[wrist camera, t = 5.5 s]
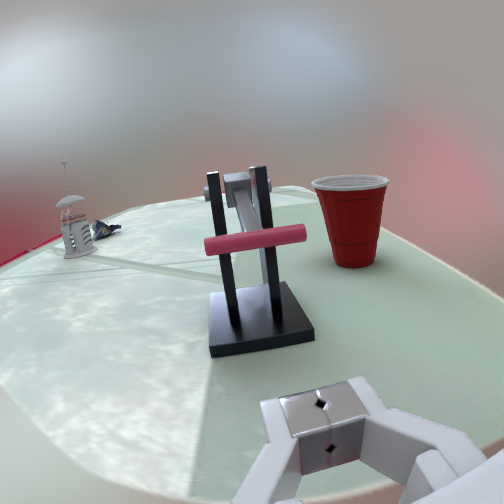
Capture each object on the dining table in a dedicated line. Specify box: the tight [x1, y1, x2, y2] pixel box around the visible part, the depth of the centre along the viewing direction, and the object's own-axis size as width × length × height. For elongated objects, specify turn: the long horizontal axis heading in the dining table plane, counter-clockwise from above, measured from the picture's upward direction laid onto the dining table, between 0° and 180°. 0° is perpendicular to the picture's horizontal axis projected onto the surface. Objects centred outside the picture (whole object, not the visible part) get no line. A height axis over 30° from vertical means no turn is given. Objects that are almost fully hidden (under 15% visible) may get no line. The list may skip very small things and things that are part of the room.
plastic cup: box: [311, 175, 389, 268], centre depth 43 cm, size 11×11×12 cm
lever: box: [204, 172, 307, 256], centre depth 25 cm, size 13×6×2 cm, turn 7°
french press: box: [56, 159, 98, 259], centre depth 73 cm, size 10×12×25 cm
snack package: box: [92, 220, 121, 241], centre depth 97 cm, size 12×6×12 cm
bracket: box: [203, 166, 315, 358], centre depth 31 cm, size 12×9×15 cm
